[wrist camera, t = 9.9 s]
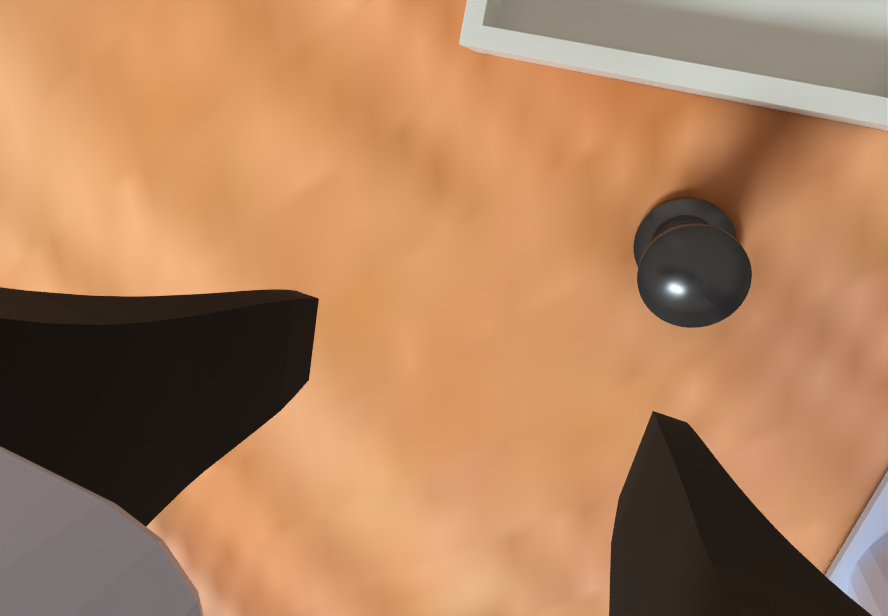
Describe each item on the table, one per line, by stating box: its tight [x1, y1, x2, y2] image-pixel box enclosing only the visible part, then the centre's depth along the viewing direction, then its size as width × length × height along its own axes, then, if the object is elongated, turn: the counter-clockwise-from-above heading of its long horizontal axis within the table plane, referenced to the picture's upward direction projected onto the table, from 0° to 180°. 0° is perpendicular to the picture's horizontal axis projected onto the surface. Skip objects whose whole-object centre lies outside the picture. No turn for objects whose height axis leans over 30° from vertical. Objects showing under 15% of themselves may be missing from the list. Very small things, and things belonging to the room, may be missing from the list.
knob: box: [634, 198, 752, 327], centre depth 16 cm, size 3×3×4 cm
